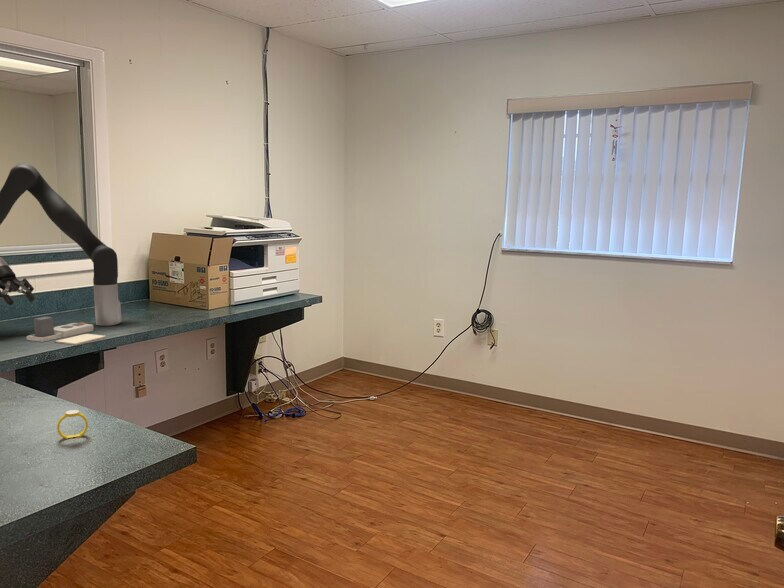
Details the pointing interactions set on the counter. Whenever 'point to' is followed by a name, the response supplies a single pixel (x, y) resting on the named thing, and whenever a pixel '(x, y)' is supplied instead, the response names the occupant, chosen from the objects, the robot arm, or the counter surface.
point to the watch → (72, 414)
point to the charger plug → (43, 327)
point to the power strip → (64, 331)
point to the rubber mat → (80, 339)
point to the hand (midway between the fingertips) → (22, 302)
